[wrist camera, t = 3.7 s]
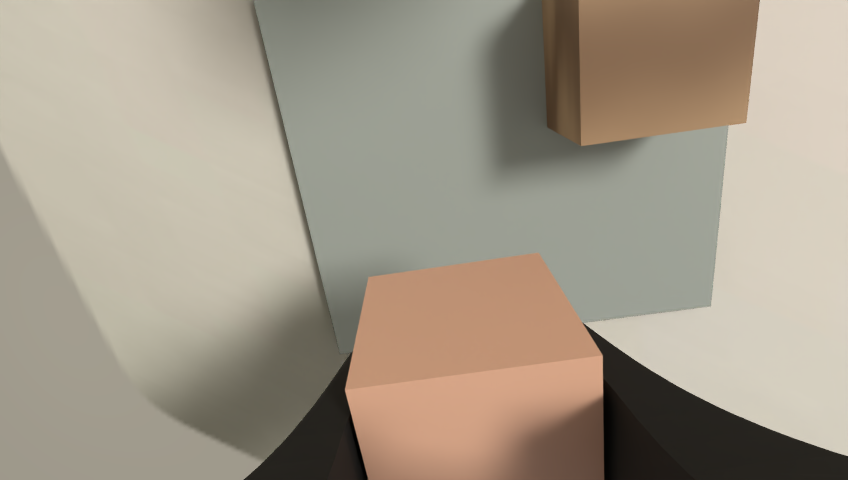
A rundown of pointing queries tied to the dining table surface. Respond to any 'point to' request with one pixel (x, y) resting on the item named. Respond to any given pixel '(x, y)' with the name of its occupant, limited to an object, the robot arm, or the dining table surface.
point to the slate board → (477, 160)
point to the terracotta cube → (476, 376)
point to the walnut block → (646, 66)
